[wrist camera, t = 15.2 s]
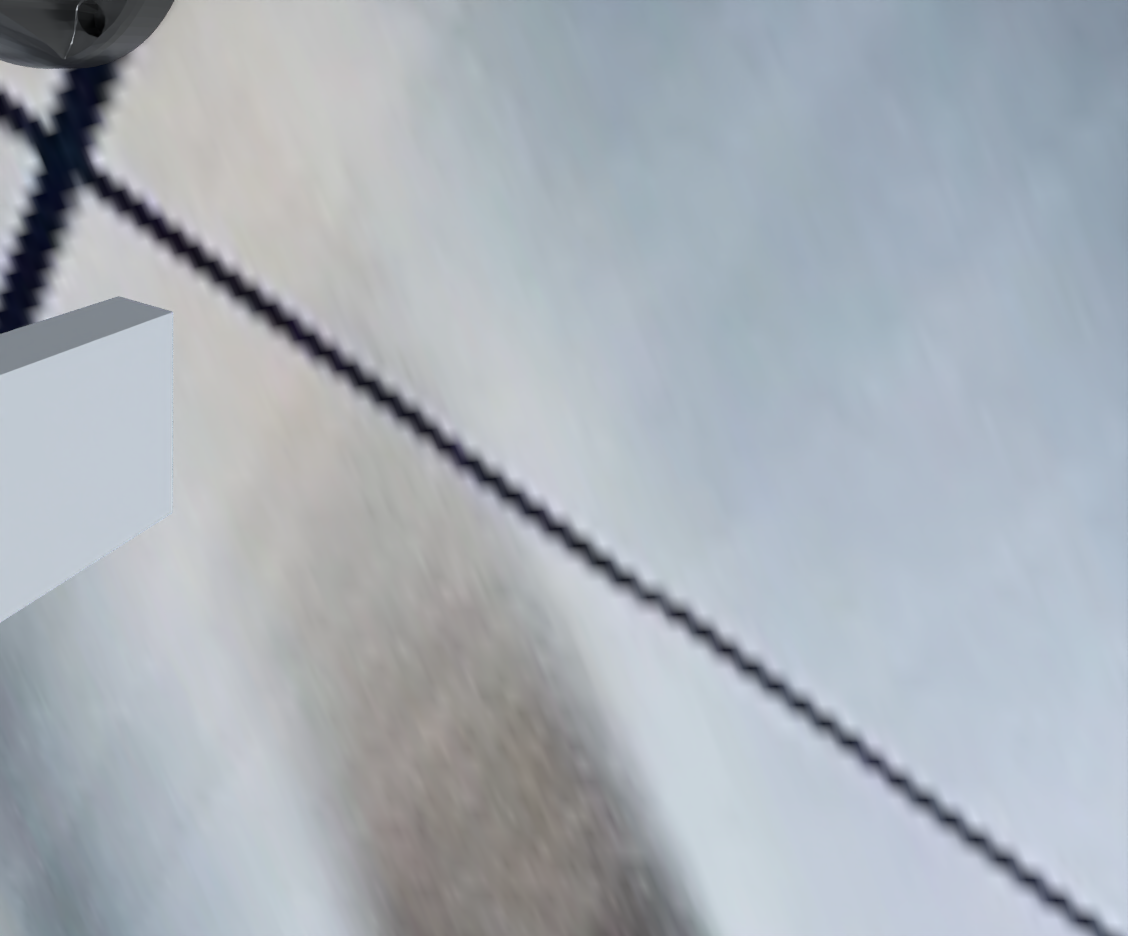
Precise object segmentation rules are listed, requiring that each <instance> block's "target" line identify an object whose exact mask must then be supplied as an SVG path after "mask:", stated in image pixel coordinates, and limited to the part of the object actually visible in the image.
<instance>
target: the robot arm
mask: <svg viewBox="0 0 1128 936" xmlns="http://www.w3.org/2000/svg"><path fill="white" fill-rule="evenodd" d="M173 2H174V0H0V60H2V61H5V62H8V63H12V64H16V65H20V66H25V67H32V68H44V69H59V68H88V67H95V66H99V65H103V64H107V63H109V62H112V61H115V60H117V59H119V58H121V57H123V56H125V55H126V54H128V53H129V52H131V51H133V50H134V49H135V48H137V47H138V46H139V45H140V44H142V43H143V42H144V41H145V40H146V39H147V38H148V37H149V36H150V35H151V34H152V33H153V32H154V30H155V29H156V28H157V27H158V26H159V24H160V23H161V21H162V20H163V19H164V17H165V16H166V14H167V12H168V11H169V9H170V7H171V6H172V4H173ZM172 513H173V312H172V311H168V310H165V309H161V308H158V307H154V306H151V305H147V304H144V303H140V302H137V301H133V300H130V299H126V298H123V297H119V296H118V297H115V298H112V299H109V300H106V301H103V302H99V303H96V304H93V305H90V306H87V307H84V308H81V309H78V310H74V311H71V312H68V313H65V314H62V315H59V316H56V317H53V318H50V319H46V320H43V321H40V322H37V323H34V324H31V325H28V326H25V327H21V328H18V329H15V330H12V331H9V332H6V333H3V334H0V622H2V621H4V620H5V619H7V618H8V617H10V616H11V615H13V614H15V613H16V612H18V611H19V610H21V609H22V608H24V607H26V606H27V605H29V604H30V603H32V602H33V601H35V600H37V599H38V598H40V597H41V596H43V595H44V594H46V593H48V592H49V591H51V590H52V589H54V588H55V587H57V586H59V585H60V584H62V583H63V582H65V581H66V580H68V579H70V578H71V577H73V576H74V575H76V574H77V573H79V572H81V571H82V570H84V569H85V568H87V567H88V566H90V565H92V564H93V563H95V562H96V561H98V560H99V559H101V558H103V557H104V556H106V555H107V554H109V553H110V552H112V551H114V550H115V549H117V548H118V547H120V546H121V545H123V544H124V543H126V542H128V541H129V540H131V539H132V538H134V537H135V536H137V535H139V534H140V533H142V532H143V531H145V530H146V529H148V528H150V527H151V526H153V525H154V524H156V523H157V522H159V521H161V520H162V519H164V518H165V517H167V516H168V515H170V514H172Z"/></svg>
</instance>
